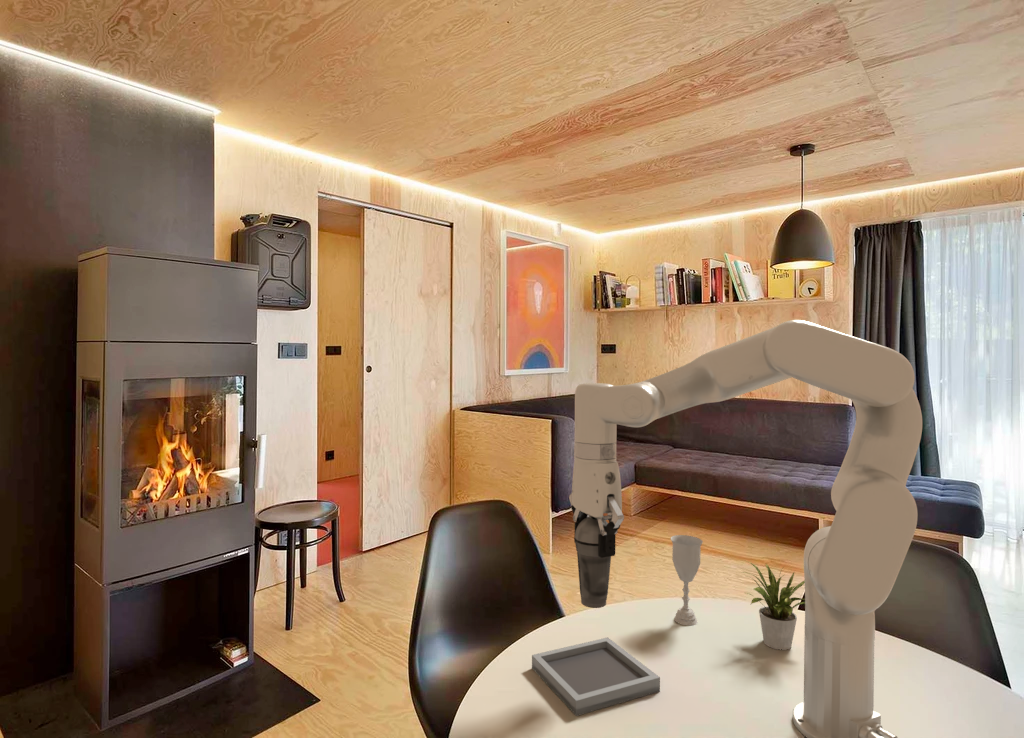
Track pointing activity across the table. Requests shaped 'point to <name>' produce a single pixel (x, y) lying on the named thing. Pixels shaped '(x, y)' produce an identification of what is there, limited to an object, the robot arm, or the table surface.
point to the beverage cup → (591, 564)
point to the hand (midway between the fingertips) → (594, 548)
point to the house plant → (777, 611)
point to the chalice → (686, 571)
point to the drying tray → (594, 675)
